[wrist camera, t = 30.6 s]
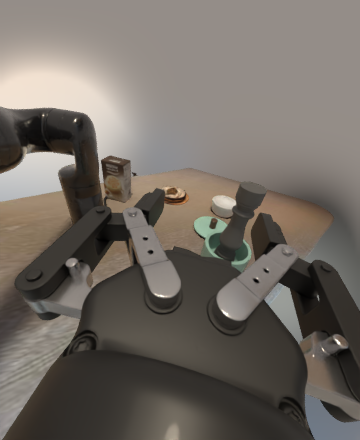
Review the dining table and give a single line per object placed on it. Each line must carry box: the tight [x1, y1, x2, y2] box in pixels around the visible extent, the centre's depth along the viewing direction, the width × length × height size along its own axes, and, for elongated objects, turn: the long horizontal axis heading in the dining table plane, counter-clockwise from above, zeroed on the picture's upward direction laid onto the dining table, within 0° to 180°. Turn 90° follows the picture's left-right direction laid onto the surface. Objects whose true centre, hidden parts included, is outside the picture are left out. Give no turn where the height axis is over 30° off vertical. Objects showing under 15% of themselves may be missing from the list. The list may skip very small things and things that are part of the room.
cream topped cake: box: [161, 185, 189, 205], centre depth 80 cm, size 15×15×4 cm
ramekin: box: [212, 196, 236, 218], centre depth 74 cm, size 11×11×5 cm
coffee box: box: [101, 156, 131, 202], centre depth 69 cm, size 9×6×16 cm
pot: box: [200, 230, 252, 273], centre depth 50 cm, size 13×13×8 cm
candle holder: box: [214, 182, 267, 262], centre depth 44 cm, size 6×6×25 cm
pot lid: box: [194, 216, 227, 238], centre depth 63 cm, size 14×14×5 cm
